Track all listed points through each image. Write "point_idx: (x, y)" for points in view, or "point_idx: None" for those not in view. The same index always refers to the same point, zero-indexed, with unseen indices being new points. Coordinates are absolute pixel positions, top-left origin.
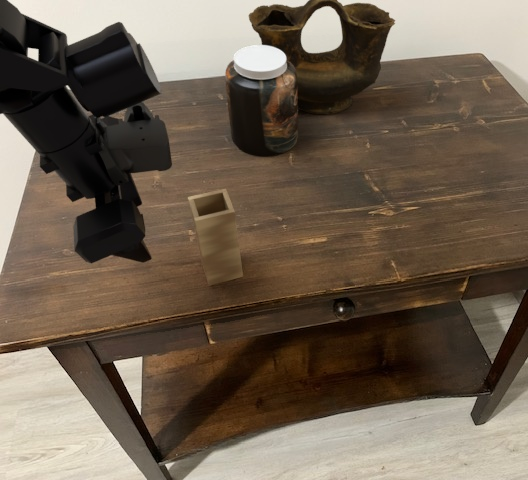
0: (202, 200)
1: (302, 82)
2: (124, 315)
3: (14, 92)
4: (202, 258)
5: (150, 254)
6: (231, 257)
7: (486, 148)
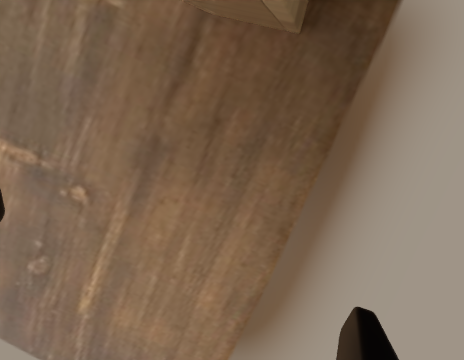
0: None
1: None
2: (261, 245)
3: None
4: (276, 21)
5: (364, 321)
6: None
7: None
